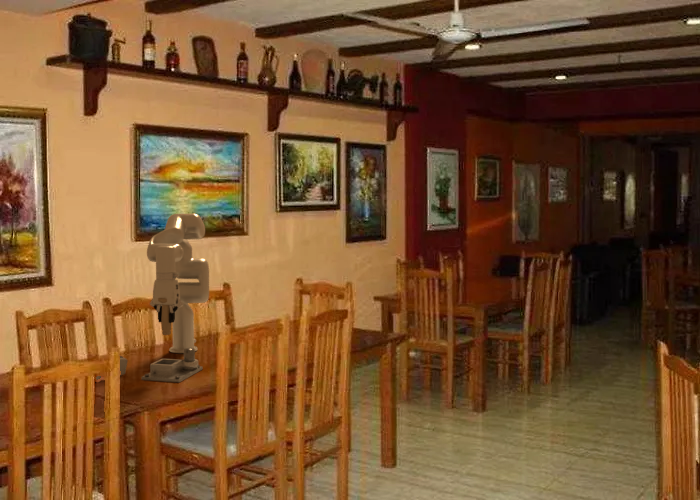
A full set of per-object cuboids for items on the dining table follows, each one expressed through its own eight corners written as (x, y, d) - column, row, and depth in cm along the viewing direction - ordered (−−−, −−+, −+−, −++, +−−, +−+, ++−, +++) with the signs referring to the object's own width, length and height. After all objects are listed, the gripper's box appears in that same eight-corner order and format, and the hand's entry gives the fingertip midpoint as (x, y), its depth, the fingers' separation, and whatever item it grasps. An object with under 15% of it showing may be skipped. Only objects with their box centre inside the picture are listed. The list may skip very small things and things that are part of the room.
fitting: (167, 367, 330) (166, 345, 329) (202, 369, 326) (202, 347, 326) (141, 379, 309) (141, 356, 308) (179, 382, 305) (179, 359, 304)
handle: (156, 335, 314) (155, 298, 313) (168, 332, 320) (167, 296, 318) (164, 336, 312) (164, 299, 310) (176, 334, 317) (176, 297, 316)
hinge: (115, 372, 321) (121, 350, 318) (124, 377, 319) (130, 355, 317) (86, 381, 305) (92, 358, 303) (95, 387, 304) (101, 364, 302)
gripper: (189, 276, 315) (189, 321, 317) (151, 274, 319) (151, 319, 321) (181, 278, 308) (181, 324, 310) (142, 277, 312) (142, 322, 314)
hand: (166, 321), depth 315 cm, fingers closed on handle, 3 cm apart
